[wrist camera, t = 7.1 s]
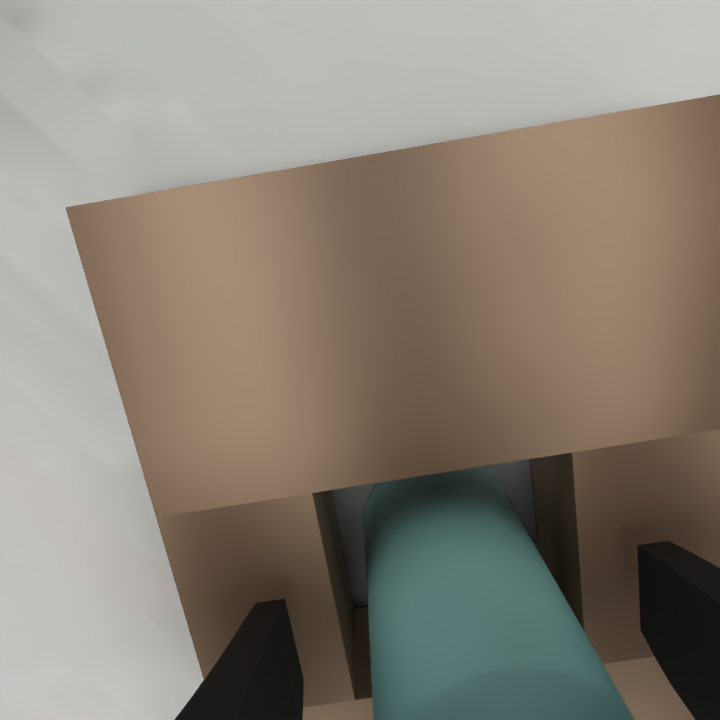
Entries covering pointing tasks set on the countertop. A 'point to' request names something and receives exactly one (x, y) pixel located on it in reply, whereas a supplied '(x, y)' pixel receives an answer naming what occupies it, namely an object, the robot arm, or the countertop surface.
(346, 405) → the socket board
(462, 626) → the peg
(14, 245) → the countertop surface
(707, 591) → the robot arm
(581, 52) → the countertop surface
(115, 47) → the countertop surface
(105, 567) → the countertop surface
